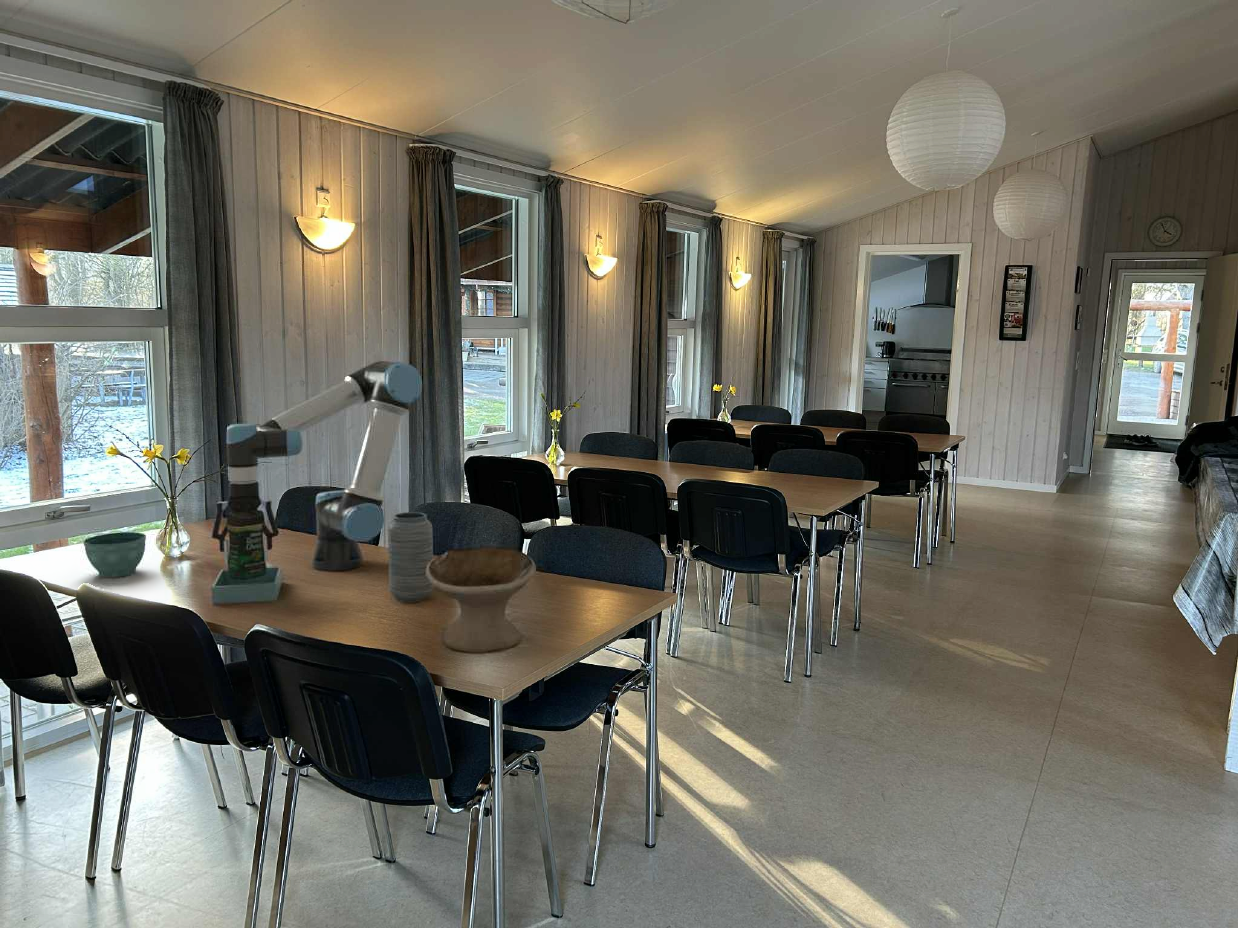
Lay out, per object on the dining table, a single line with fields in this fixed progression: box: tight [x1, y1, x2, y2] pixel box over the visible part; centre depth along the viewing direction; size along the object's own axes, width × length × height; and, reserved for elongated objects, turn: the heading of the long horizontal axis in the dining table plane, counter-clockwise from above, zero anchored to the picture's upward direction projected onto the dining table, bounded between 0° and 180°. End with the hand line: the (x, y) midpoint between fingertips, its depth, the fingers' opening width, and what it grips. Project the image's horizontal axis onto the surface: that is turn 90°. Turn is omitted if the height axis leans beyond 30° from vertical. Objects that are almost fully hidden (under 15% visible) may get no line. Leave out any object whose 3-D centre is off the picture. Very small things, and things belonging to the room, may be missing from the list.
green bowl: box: [82, 531, 147, 579], centre depth 273 cm, size 16×16×11 cm
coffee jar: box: [225, 509, 267, 580], centre depth 254 cm, size 10×8×19 cm
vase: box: [387, 511, 434, 604], centre depth 252 cm, size 12×12×23 cm
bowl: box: [426, 546, 537, 654], centre depth 219 cm, size 26×25×20 cm
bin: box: [211, 566, 283, 605], centre depth 256 cm, size 16×18×5 cm
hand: (246, 562), depth 255 cm, fingers closed on coffee jar, 9 cm apart
